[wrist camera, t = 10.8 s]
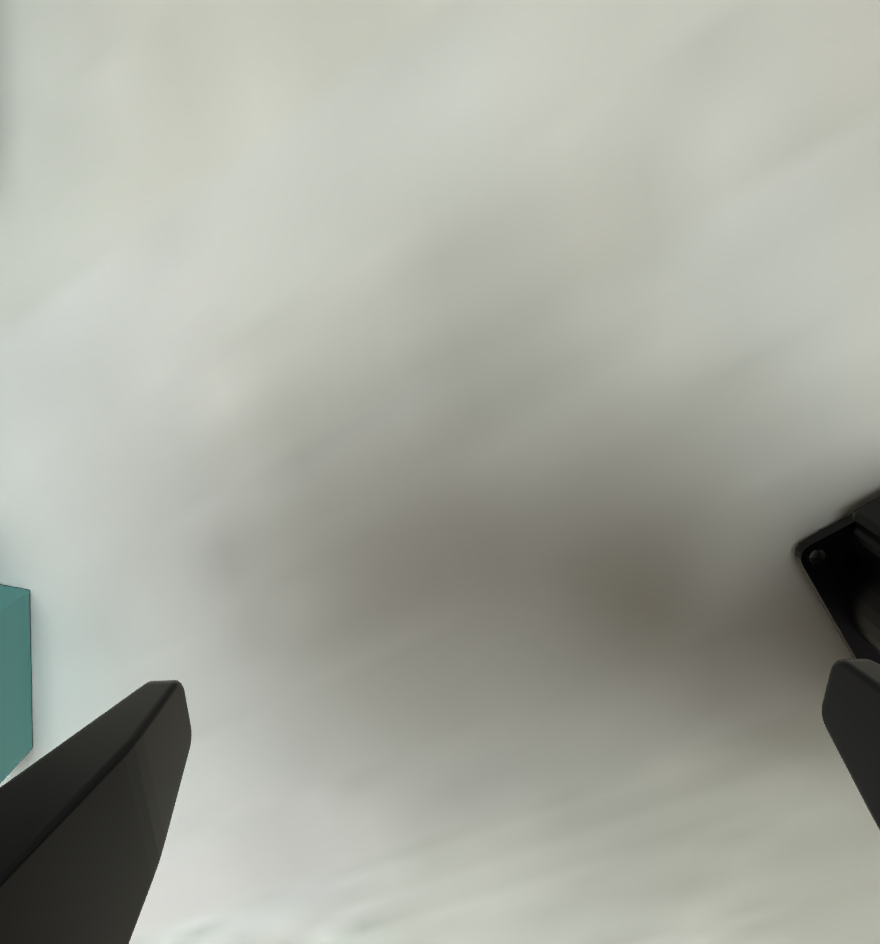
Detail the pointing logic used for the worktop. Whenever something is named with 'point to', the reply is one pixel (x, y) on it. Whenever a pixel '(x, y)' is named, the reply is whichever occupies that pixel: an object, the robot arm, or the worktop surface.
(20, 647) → the socket
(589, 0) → the worktop surface
